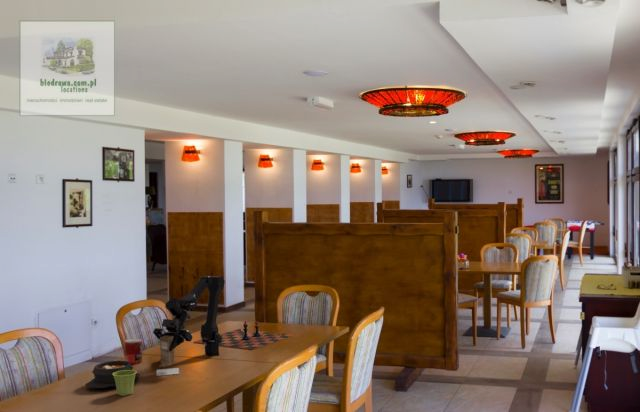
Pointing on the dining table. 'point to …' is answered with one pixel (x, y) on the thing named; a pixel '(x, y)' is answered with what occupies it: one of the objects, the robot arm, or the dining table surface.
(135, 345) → the canned food
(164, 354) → the plain brown block
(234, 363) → the dining table surface
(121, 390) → the plant pot
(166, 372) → the felt mat
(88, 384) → the casserole
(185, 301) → the robot arm
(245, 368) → the dining table surface
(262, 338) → the chessboard
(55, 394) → the dining table surface
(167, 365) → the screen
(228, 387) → the dining table surface
